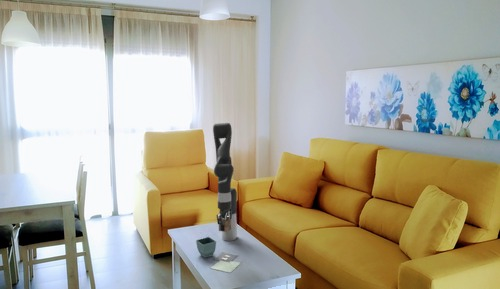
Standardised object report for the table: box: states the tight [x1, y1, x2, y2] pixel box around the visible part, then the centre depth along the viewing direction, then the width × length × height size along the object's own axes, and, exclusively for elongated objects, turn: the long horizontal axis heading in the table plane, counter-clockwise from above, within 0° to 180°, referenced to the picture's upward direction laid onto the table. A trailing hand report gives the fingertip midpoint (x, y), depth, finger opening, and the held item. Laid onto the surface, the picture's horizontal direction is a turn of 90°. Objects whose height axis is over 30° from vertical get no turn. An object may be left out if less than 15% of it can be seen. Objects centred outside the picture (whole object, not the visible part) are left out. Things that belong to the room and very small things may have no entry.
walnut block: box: [218, 218, 231, 232], centre depth 211 cm, size 5×5×6 cm
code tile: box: [213, 252, 238, 262], centre depth 216 cm, size 10×10×1 cm
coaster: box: [210, 259, 242, 274], centre depth 205 cm, size 12×12×1 cm
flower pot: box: [195, 236, 217, 259], centre depth 218 cm, size 9×9×9 cm
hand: (224, 229), depth 211 cm, fingers closed on walnut block, 5 cm apart
